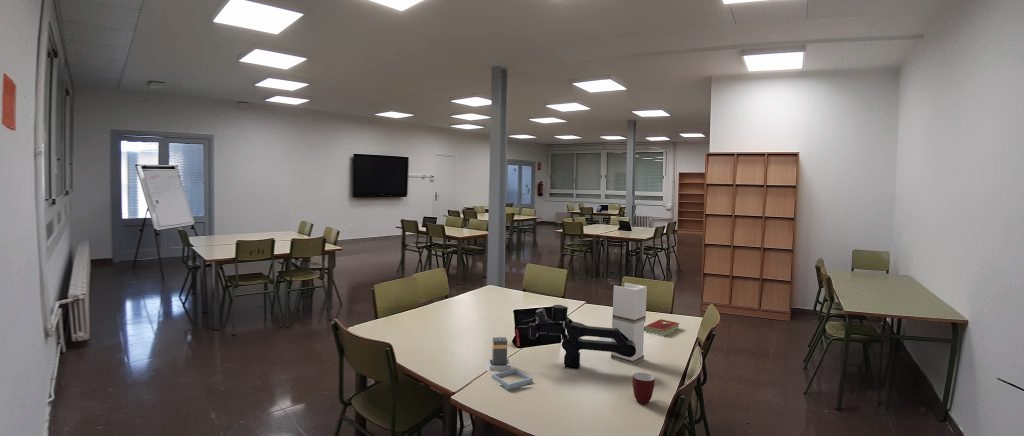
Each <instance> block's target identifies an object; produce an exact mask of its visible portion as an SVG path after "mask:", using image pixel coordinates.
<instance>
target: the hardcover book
mask: <svg viewBox="0 0 1024 436" xmlns="http://www.w3.org/2000/svg"><path fill="white" fill-rule="evenodd" d="M679 325H680V322H677V321H673V320H672V321H671V320H667V319H661V318H660V319H658V320H656V321H654V322H651V323H649V324H646V325H644V331H646V332H650V333H654V334H658V335H657V336H659V335H661V336H660V337H663V336H664V337H666V336H668V335H669V333H670V334H672V333H673V332H672V331H674V330H676V329H677V330H679V327H680V326H679ZM677 330H676V331H677ZM646 332H645V333H646ZM671 332H672V333H671ZM674 332H675V331H674ZM650 333H649V334H650ZM654 334H653V335H654ZM667 334H668V335H667ZM665 335H666V336H665Z"/></svg>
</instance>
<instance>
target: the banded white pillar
mask: <svg viewBox="0 0 1024 436" xmlns="http://www.w3.org/2000/svg"><path fill="white" fill-rule="evenodd" d="M623 284H624V285H623V286H619V285H613V293H612V294H613V295H612V296H613V299H612V318H611V319H612V323H611V324H612V325H611V328H618V329H619V330H620V331H621V333H623V334H624V335H625V336H626V337H627V338H628V339H629V340H632V341H633V342H634V343H635V345H636V353H635V355H634V356H633V357H625V356H622V355H619V354H617V353H615V352H610V359H611V360H614V361H617V360H618V362H620V361H621V363H623V362H625V363H624V364H627V363H628V364H627V365H630V364H631V365H630V366H634V365H636V364H638V363H640V362H641V360H642V361H643V359H645V355H644V337H645V336H644V335H645V332H644V326H645V323H646V319H647V318H646V317H647V316H646V315H647V314H646V313H647V296H648V295H647V293H648V292H647V291H648V286H646V285H641V284H636V283H635V284H634V283H630V282H624V283H623ZM612 342H616V341H615V340H614V339H613V338H612ZM639 361H640V362H639ZM637 362H638V363H637ZM635 363H636V364H635ZM633 364H634V365H633Z"/></svg>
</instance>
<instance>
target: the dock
mask: <svg viewBox="0 0 1024 436" xmlns="http://www.w3.org/2000/svg"><path fill="white" fill-rule="evenodd" d="M484 363H485V365H484V366H485V369H486V371H487V372H490V371H492V372H493V371H508V370H512V369H515V367H514V365H513V362H512V361H511V360H510V359H509V358H507V365H504V366H492V358H490V359H487V361H485V362H484Z"/></svg>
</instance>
